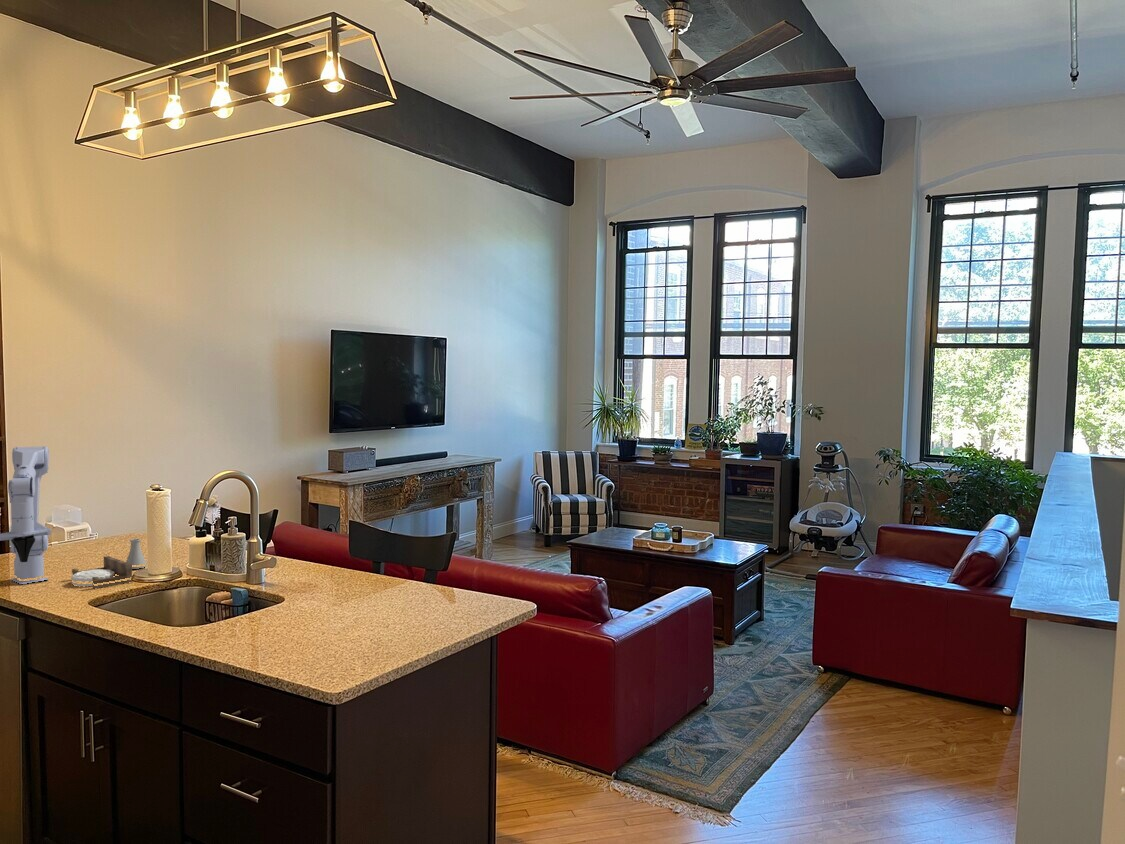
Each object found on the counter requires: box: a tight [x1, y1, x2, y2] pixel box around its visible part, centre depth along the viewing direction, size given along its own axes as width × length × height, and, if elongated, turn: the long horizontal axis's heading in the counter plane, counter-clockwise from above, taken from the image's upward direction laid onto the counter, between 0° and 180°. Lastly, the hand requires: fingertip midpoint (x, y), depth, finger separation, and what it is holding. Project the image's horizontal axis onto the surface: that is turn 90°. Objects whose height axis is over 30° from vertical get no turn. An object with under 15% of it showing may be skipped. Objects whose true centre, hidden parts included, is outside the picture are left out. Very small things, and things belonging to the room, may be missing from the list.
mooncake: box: [71, 568, 115, 586], centre depth 264 cm, size 12×12×4 cm
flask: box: [125, 538, 148, 570], centre depth 284 cm, size 7×7×10 cm
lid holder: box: [71, 555, 133, 589], centre depth 266 cm, size 18×11×6 cm, turn 50°
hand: (23, 561), depth 251 cm, fingers closed
